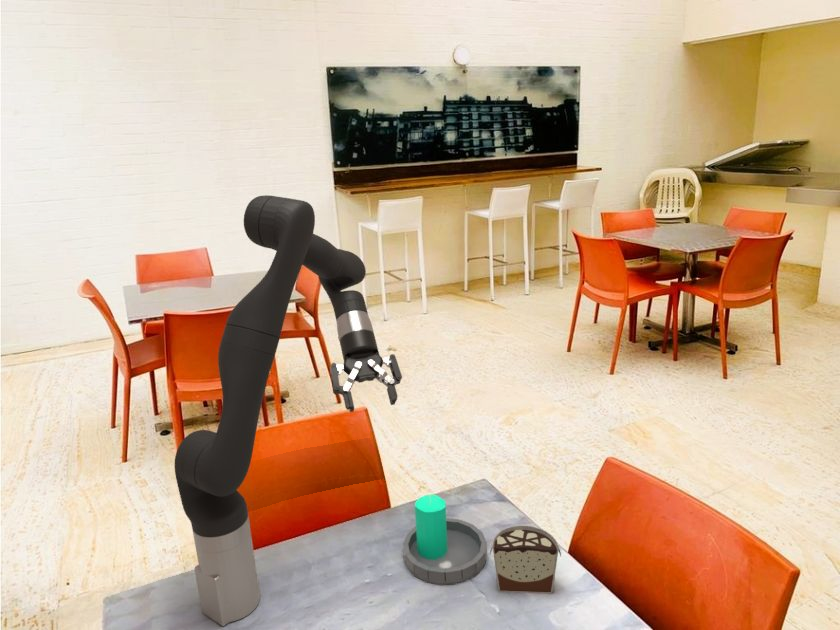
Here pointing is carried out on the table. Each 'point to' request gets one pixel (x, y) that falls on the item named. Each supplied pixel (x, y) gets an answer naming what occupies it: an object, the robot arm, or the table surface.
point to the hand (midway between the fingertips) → (373, 406)
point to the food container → (525, 560)
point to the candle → (431, 526)
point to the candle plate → (449, 555)
